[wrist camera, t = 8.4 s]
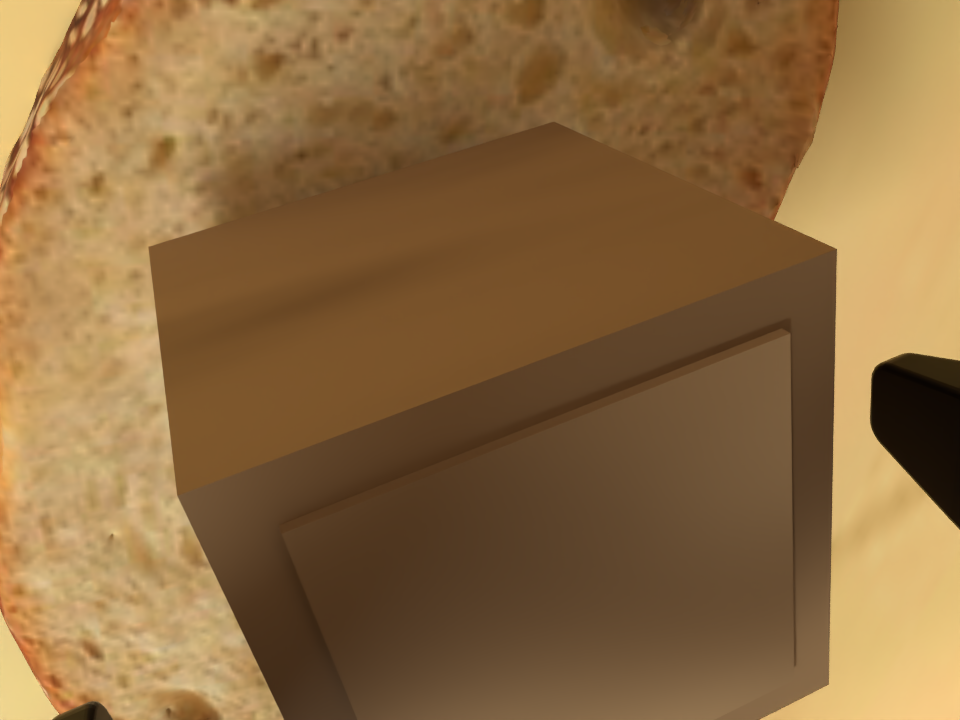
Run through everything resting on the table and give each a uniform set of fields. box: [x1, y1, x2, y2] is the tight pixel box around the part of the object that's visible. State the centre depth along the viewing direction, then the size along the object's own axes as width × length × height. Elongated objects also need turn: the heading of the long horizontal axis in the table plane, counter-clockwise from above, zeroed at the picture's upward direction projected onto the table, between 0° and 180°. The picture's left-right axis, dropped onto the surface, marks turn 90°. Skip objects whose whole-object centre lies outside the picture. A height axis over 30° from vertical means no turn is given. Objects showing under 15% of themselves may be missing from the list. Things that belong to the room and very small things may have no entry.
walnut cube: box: [148, 122, 837, 720], centre depth 11 cm, size 6×6×6 cm
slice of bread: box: [0, 0, 839, 720], centre depth 15 cm, size 18×18×4 cm
